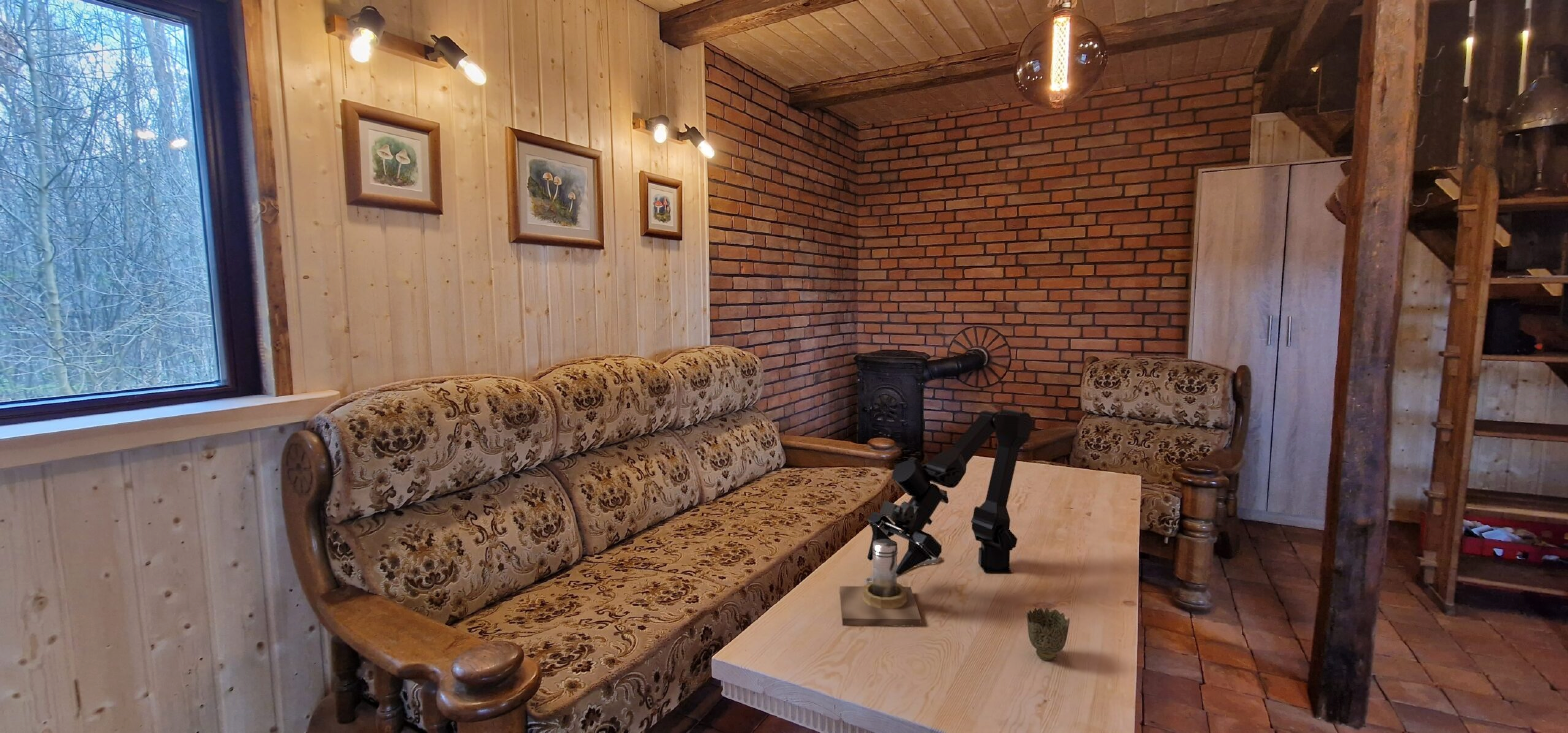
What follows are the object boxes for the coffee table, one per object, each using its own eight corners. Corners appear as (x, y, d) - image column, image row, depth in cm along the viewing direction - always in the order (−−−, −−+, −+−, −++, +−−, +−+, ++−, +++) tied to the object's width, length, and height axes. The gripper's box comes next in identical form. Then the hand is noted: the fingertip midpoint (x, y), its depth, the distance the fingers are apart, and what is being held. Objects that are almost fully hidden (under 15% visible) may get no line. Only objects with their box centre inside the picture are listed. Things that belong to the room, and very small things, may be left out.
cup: (1018, 647, 129) (1019, 607, 129) (1055, 645, 130) (1057, 606, 129) (1036, 669, 122) (1037, 627, 121) (1075, 667, 123) (1077, 625, 122)
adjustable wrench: (871, 590, 156) (871, 582, 156) (852, 580, 161) (852, 573, 161) (943, 562, 171) (943, 555, 170) (923, 554, 176) (924, 547, 176)
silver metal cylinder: (900, 596, 148) (900, 541, 147) (892, 606, 143) (893, 549, 142) (877, 591, 151) (877, 537, 149) (868, 601, 146) (868, 545, 144)
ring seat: (910, 593, 153) (910, 578, 152) (921, 626, 138) (921, 609, 138) (839, 592, 154) (839, 577, 153) (842, 625, 139) (842, 609, 138)
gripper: (873, 477, 154) (835, 533, 150) (932, 498, 139) (891, 561, 134) (899, 504, 160) (863, 559, 155) (959, 527, 144) (920, 589, 139)
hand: (882, 566), depth 146 cm, fingers open, 9 cm apart
